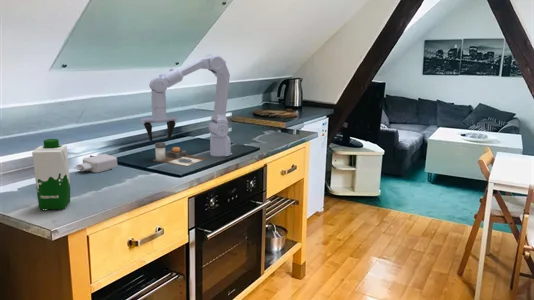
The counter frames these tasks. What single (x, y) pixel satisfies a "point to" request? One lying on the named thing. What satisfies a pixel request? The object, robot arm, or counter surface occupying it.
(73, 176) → the counter surface
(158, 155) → the salt shaker
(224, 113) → the robot arm
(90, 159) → the charger
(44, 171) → the milk carton
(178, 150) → the button
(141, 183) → the counter surface
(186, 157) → the board
